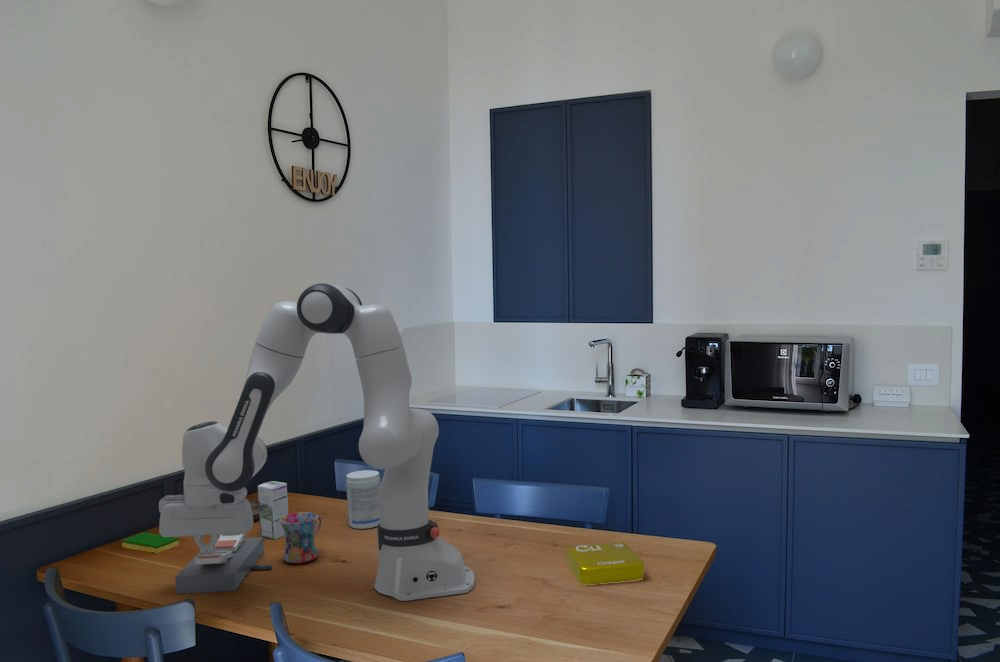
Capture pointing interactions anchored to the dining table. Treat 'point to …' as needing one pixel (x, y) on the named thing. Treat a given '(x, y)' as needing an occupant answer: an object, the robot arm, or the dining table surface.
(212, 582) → the switch panel
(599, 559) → the element tile
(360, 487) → the supplement tub
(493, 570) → the dining table surface
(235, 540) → the rocker
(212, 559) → the rocker
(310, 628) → the dining table surface
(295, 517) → the mug
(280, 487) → the syrup box
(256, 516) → the plant saucer
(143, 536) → the dish sponge
